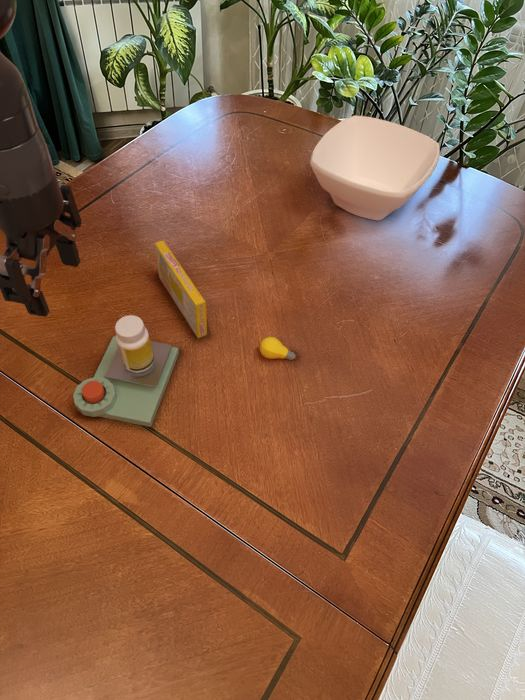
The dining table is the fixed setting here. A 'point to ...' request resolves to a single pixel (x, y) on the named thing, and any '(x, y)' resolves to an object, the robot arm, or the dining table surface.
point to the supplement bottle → (134, 344)
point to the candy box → (181, 289)
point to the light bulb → (275, 349)
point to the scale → (125, 393)
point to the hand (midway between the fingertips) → (56, 288)
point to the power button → (93, 392)
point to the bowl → (373, 165)
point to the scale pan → (142, 378)
